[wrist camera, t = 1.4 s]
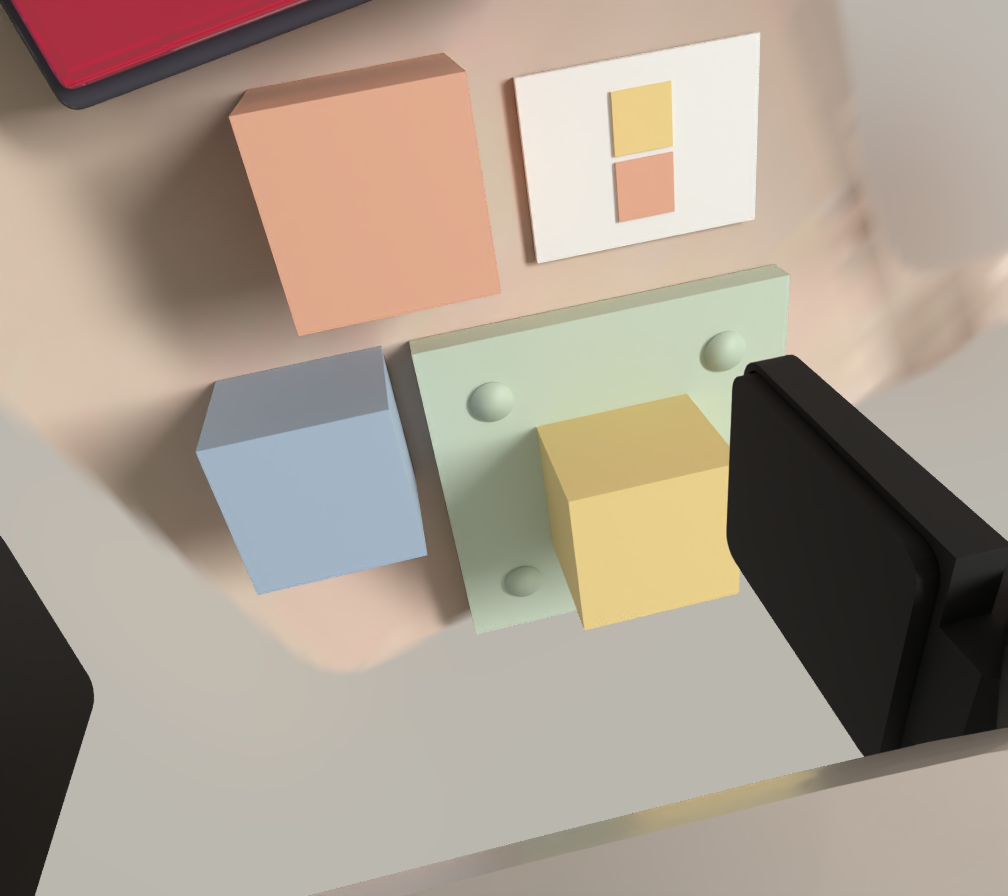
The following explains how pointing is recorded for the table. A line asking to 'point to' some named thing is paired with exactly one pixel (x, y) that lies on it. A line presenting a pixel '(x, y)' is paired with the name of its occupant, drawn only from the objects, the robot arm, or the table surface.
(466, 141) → the terracotta brick
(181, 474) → the table surface
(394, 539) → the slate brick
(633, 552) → the ochre brick
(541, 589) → the build plate
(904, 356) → the table surface
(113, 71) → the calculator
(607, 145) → the tile
